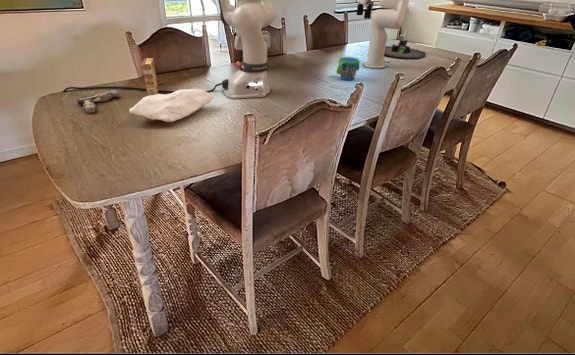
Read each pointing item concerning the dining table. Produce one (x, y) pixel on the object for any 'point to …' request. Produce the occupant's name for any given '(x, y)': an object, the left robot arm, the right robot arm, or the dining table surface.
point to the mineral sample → (403, 51)
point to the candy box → (150, 76)
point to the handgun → (95, 100)
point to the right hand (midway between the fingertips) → (363, 16)
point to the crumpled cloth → (171, 104)
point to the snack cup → (348, 67)
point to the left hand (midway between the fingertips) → (252, 57)
